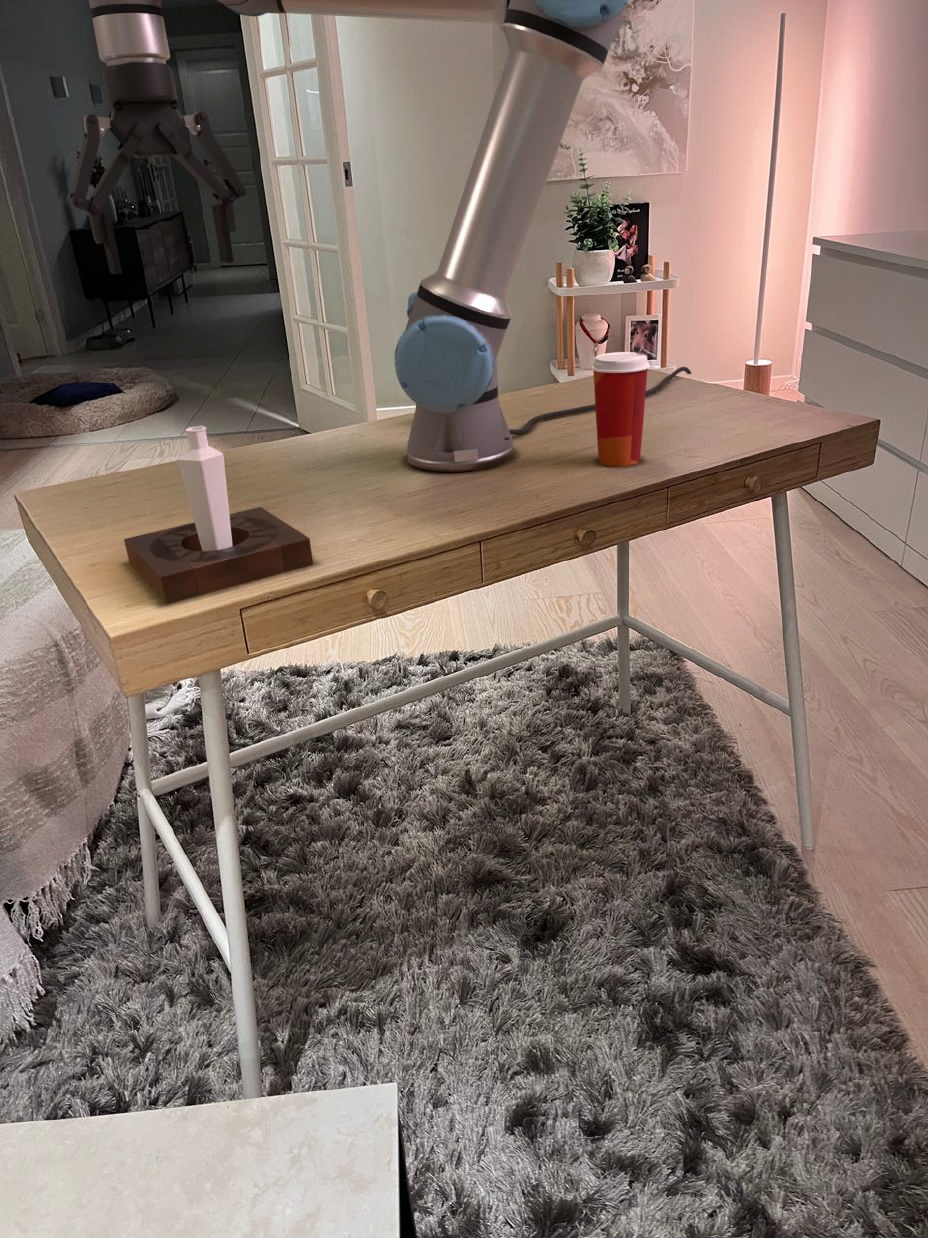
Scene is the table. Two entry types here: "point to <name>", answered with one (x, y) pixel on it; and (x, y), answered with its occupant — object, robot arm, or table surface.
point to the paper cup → (620, 406)
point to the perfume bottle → (206, 490)
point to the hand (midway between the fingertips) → (173, 267)
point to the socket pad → (217, 555)
